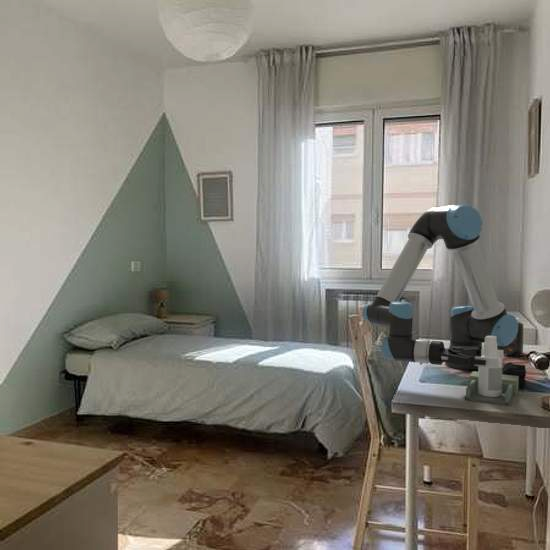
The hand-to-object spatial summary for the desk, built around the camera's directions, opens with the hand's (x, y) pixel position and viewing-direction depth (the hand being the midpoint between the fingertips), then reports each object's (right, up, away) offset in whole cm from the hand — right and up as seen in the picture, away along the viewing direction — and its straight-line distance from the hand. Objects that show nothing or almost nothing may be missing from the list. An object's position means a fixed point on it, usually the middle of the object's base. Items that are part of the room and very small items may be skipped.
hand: (501, 358), depth 166 cm
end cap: (+11, -12, +16) cm, 23 cm away
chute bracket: (-1, -12, +5) cm, 13 cm away
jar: (+31, -8, +68) cm, 75 cm away
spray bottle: (-3, -12, +2) cm, 12 cm away
